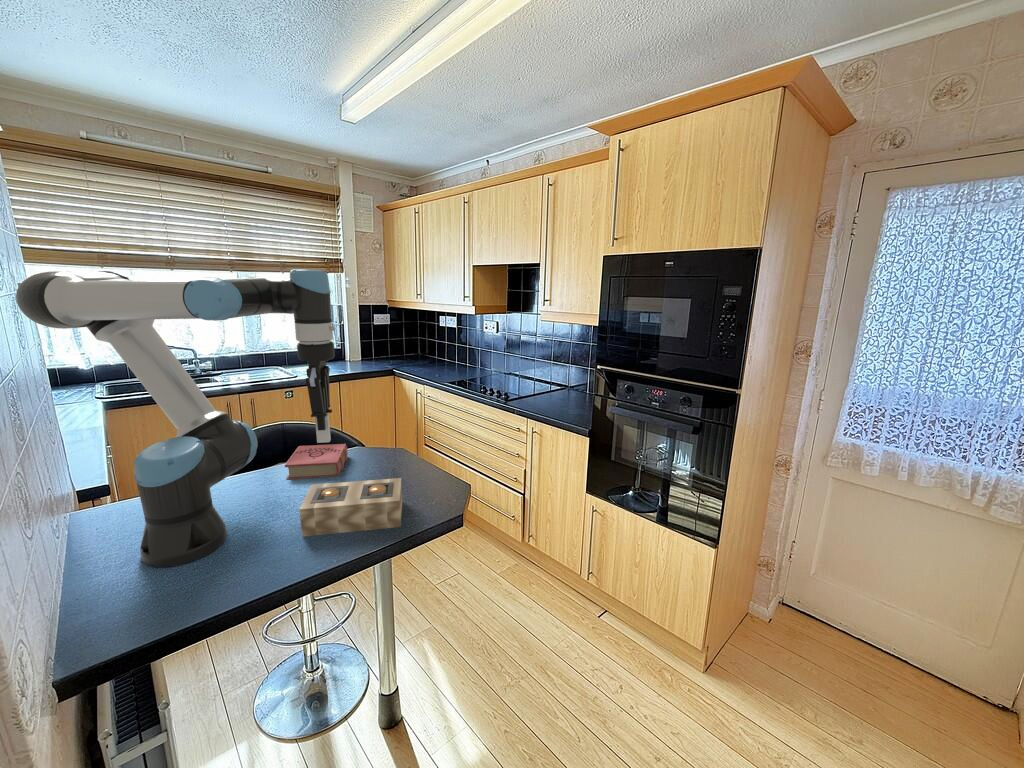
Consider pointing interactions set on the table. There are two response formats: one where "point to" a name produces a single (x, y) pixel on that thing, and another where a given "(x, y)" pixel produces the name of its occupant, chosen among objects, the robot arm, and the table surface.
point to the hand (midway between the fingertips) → (324, 441)
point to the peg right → (377, 490)
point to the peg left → (330, 494)
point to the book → (317, 461)
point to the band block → (351, 508)
